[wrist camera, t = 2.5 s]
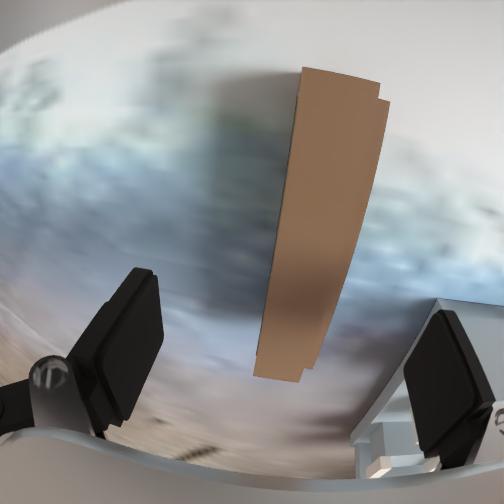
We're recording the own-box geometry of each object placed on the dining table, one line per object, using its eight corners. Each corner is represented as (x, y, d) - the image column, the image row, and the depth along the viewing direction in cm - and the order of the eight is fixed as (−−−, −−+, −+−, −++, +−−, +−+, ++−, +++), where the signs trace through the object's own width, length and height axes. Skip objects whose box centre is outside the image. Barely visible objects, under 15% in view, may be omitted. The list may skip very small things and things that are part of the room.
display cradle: (437, 298, 17) (478, 403, 10) (516, 307, 16) (560, 389, 9) (350, 434, 26) (350, 504, 20) (416, 433, 26) (423, 497, 19)
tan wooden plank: (300, 72, 12) (300, 66, 8) (366, 85, 12) (398, 88, 8) (263, 312, 20) (252, 375, 15) (310, 320, 19) (309, 384, 15)
